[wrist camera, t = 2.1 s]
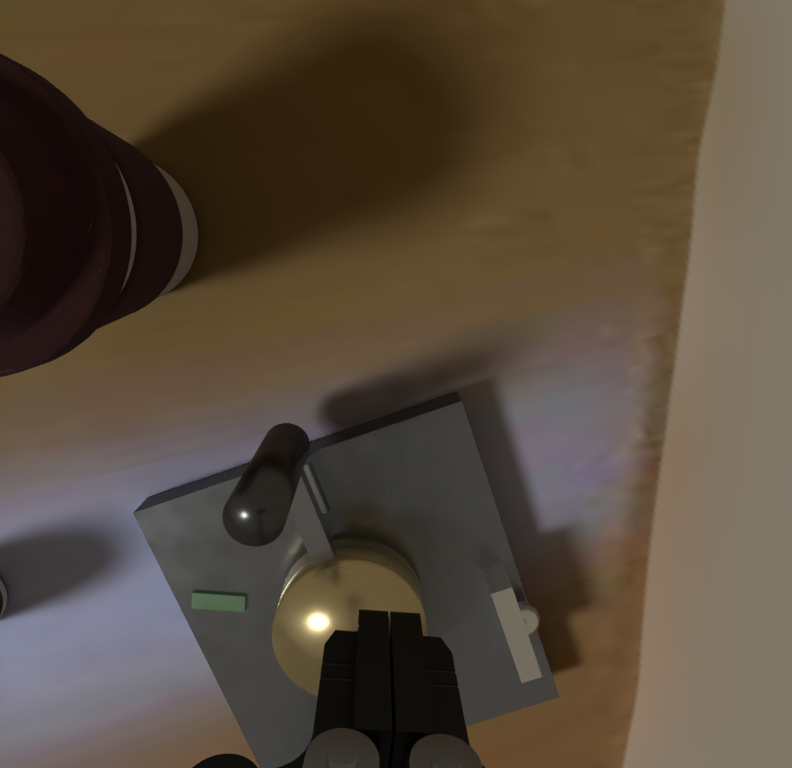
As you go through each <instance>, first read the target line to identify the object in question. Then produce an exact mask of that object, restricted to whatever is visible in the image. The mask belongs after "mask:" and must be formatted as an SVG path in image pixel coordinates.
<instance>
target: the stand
mask: <svg viewBox="0 0 792 768" xmlns="http://www.w3.org/2000/svg"><path fill="white" fill-rule="evenodd" d="M248 465H249V463H247V464H244V465H241V466H238V467H235V468H232V469H229V470H227V471H224V472H221V473H218V474H215V475H212V476H209V477H206V478H203V479H200V480H197V481H194V482H191V483H188V484H186V485H183V486H180V487H177V488H174V489H171V490H168V491H165V492H162V493H159V494H156V495H153V496H150V497H148V498H147V499H146V500H145V501H144V502H143V503H142V504H141V505H140V506H139V507H138V508H137V509H136V511H135V512H134V513H133V514H134V516H135V518H136V520H137V522H138V524H139V526H140V528H141V530H142V532H143V534H144V536H145V538H146V540H147V542H148V544H149V546H150V548H151V550H152V552H153V554H154V556H155V558H156V560H157V562H158V564H159V566H160V568H161V570H162V572H163V574H164V576H165V578H166V580H167V582H168V584H169V586H170V588H171V590H172V592H173V594H174V596H175V598H176V600H177V602H178V604H179V606H180V608H181V610H182V612H183V614H184V616H185V618H186V620H187V622H188V624H189V626H190V628H191V630H192V632H193V634H194V636H195V638H196V640H197V642H198V644H199V646H200V648H201V650H202V652H203V654H204V656H205V658H206V660H207V662H208V664H209V666H210V668H211V670H212V672H213V674H214V676H215V678H216V680H217V682H218V684H219V686H220V688H221V690H222V692H223V694H224V696H225V698H226V700H227V702H228V704H229V706H230V708H231V710H232V712H233V714H234V716H235V718H236V720H237V722H238V724H239V726H240V728H241V730H242V732H243V734H244V736H245V738H246V740H247V742H248V744H249V746H250V748H251V750H252V752H253V754H254V756H255V758H256V760H257V762H258V764H259V766H260V768H277V767H281V766H284V765H286V764H288V763H290V762H292V761H293V760H295V759H296V758H297V757H299V756H300V755H301V754H302V753H303V752H304V751H305V749H306V748H307V747H308V745H309V743H310V741H311V739H312V735H313V729H314V721H315V713H316V706H317V698H318V697H317V696H314V695H312V694H310V693H308V692H306V691H305V690H303V689H301V688H300V687H299V686H297V685H296V684H295V683H294V682H293V681H292V680H291V679H290V678H289V677H288V676H287V675H286V674H285V672H284V671H283V670H282V668H281V667H280V665H279V663H278V661H277V659H276V656H275V653H274V649H273V645H272V626H273V622H274V618H275V614H276V611H277V607H278V603H279V600H280V596H281V592H282V589H283V585H284V582H285V580H286V577H287V575H288V573H289V572H290V570H291V568H292V567H293V566H294V564H295V563H296V562H297V561H298V560H299V559H300V558H301V557H302V556H303V555H304V554H306V553H307V549H306V547H305V545H304V542H303V540H302V538H301V535H300V533H299V531H298V528H297V526H296V523H295V521H294V519H293V516H292V514H291V512H290V511H289V514H288V517H287V520H286V523H285V526H284V529H283V531H282V533H281V534H280V535H279V537H278V538H277V539H275V540H274V541H273V542H271V543H269V544H267V545H263V546H255V547H254V546H247V545H244V544H241V543H239V542H237V541H236V540H234V539H233V538H232V537H231V536H230V535H229V534H228V532H227V531H226V529H225V527H224V524H223V519H222V514H223V509H224V506H225V504H226V503H227V501H228V499H229V497H230V496H231V494H232V492H233V491H234V489H235V487H236V486H237V484H238V482H239V480H240V479H241V477H242V475H243V474H244V472H245V470H246V468H247V467H248ZM304 471H305V473H306V476H307V478H308V480H309V483H310V485H311V488H312V490H313V493H314V495H315V497H316V500H317V502H318V505H319V507H320V510H321V512H322V514H323V517H324V519H325V522H326V524H327V527H328V529H329V532H330V534H331V536H332V539H333V540H337V539H344V538H360V539H367V540H372V541H375V542H378V543H381V544H383V545H386V546H388V547H390V548H391V549H393V550H394V551H396V552H397V553H399V554H400V555H401V556H402V557H403V558H404V559H405V560H406V561H407V562H408V563H409V564H410V565H411V567H412V568H413V570H414V571H415V573H416V575H417V577H418V580H419V583H420V586H421V591H422V598H423V605H424V613H425V620H426V627H427V636H432V637H441V638H442V640H443V641H444V642H445V644H446V645H447V647H448V648H449V649H450V651H451V652H452V655H453V660H454V666H455V674H456V676H457V682H458V688H459V692H460V698H461V703H462V708H463V714H464V719H465V724H466V726H468V725H472V724H475V723H478V722H481V721H484V720H487V719H491V718H494V717H497V716H500V715H503V714H506V713H510V712H513V711H516V710H519V709H522V708H525V707H529V706H532V705H535V704H538V703H541V702H544V701H548V700H551V699H554V698H557V697H559V695H558V691H557V688H556V685H555V682H554V679H553V676H552V673H551V670H550V667H549V664H548V661H547V658H546V655H545V652H544V649H543V646H542V643H541V640H540V637H539V634H538V631H537V629H538V627H539V625H540V616H539V613H538V611H537V609H536V608H535V607H534V606H533V605H532V604H530V603H528V600H527V597H526V594H525V591H524V588H523V585H522V582H521V579H520V576H519V573H518V570H517V567H516V564H515V561H514V558H513V555H512V551H511V548H510V545H509V542H508V539H507V536H506V533H505V530H504V527H503V524H502V521H501V518H500V515H499V512H498V509H497V506H496V503H495V500H494V497H493V494H492V491H491V488H490V485H489V481H488V478H487V475H486V472H485V469H484V466H483V463H482V460H481V457H480V454H479V451H478V448H477V445H476V442H475V439H474V436H473V433H472V430H471V427H470V424H469V421H468V418H467V415H466V411H465V408H464V405H463V402H462V400H461V398H460V397H459V395H458V393H457V392H455V393H452V394H449V395H446V396H443V397H440V398H437V399H434V400H431V401H428V402H425V403H423V404H420V405H417V406H414V407H411V408H408V409H405V410H402V411H399V412H396V413H393V414H390V415H387V416H385V417H382V418H379V419H376V420H373V421H370V422H367V423H364V424H361V425H358V426H355V427H352V428H349V429H346V430H344V431H341V432H338V433H335V434H332V435H329V436H326V437H323V438H320V439H317V440H314V441H311V442H310V449H309V453H308V456H307V459H306V462H305V465H304Z"/></svg>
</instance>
